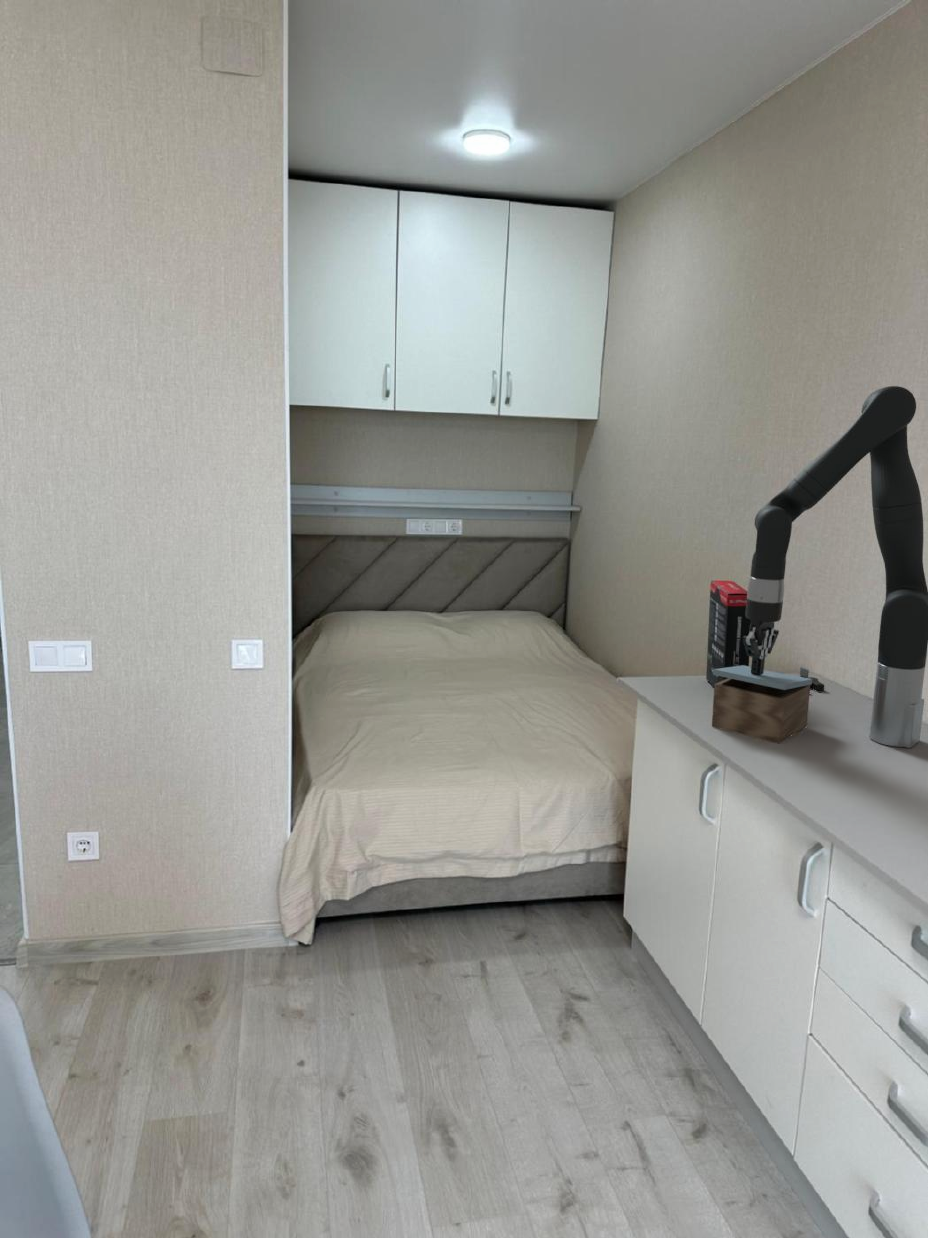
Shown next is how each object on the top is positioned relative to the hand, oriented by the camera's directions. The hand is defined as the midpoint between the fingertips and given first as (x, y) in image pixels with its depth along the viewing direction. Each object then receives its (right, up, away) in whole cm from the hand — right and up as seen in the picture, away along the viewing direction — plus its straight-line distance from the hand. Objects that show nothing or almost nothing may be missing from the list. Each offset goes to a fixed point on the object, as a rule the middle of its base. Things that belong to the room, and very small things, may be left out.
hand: (756, 674), depth 199 cm
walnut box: (+2, -12, +4) cm, 13 cm away
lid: (+2, -1, +2) cm, 3 cm away
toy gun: (+21, -6, +32) cm, 39 cm away
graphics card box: (+2, -6, +31) cm, 32 cm away
